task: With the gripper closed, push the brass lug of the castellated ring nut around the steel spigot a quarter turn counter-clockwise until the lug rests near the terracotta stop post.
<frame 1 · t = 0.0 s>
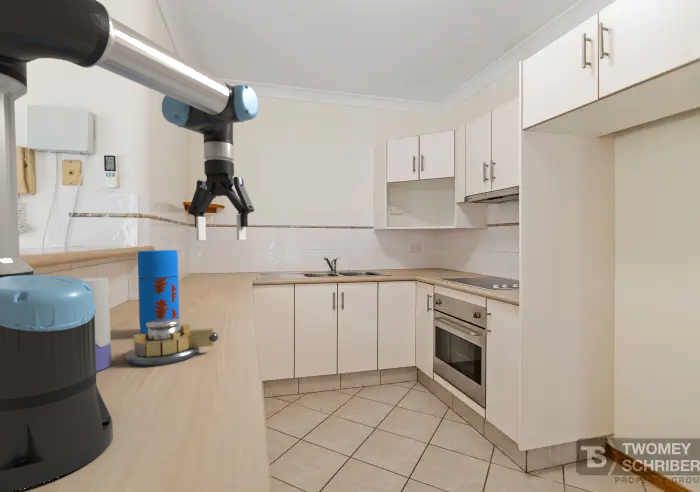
hand: (220, 240, 97), 28 cm above the countertop, fingers open, 13 cm apart
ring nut: (177, 337, 89), point 4 cm above the countertop, hinge at 0.0°
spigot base: (164, 355, 88), on the countertop
container: (84, 369, 80), on the countertop
thermos: (160, 332, 111), on the countertop
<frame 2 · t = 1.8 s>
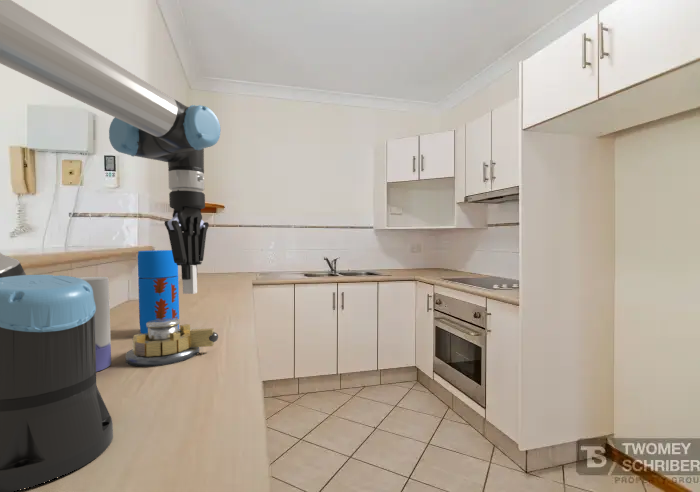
hand: (190, 293, 84), 16 cm above the countertop, fingers closed
nothing on the countertop moved.
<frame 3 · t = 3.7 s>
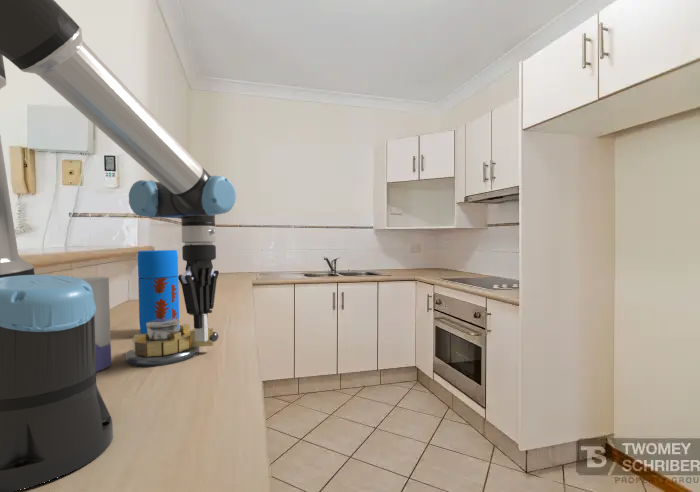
hand: (201, 340, 88), 4 cm above the countertop, fingers closed
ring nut: (177, 337, 89), point 4 cm above the countertop, hinge at 1.7°, touching gripper
everything else where it was.
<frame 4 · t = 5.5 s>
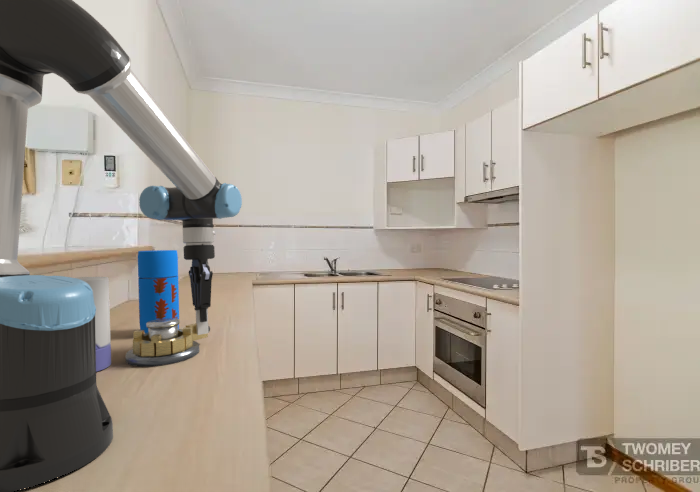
hand: (202, 333, 95), 3 cm above the countertop, fingers closed
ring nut: (176, 335, 91), point 4 cm above the countertop, hinge at 48.6°, touching gripper
everything else where it was.
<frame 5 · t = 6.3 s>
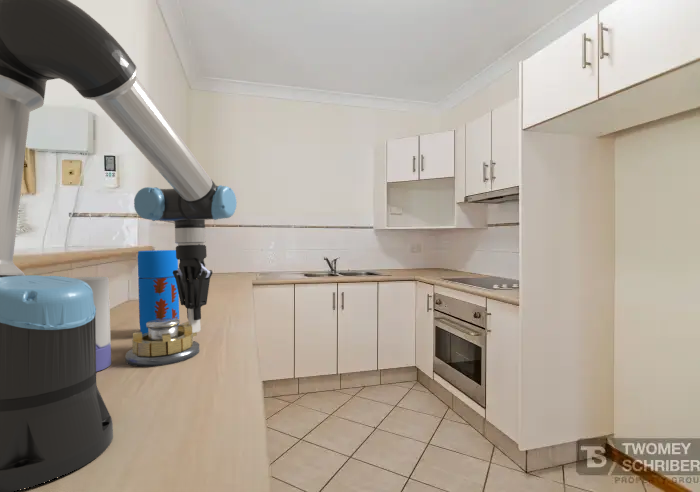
hand: (194, 331, 97), 3 cm above the countertop, fingers closed
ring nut: (172, 335, 91), point 4 cm above the countertop, hinge at 69.8°, touching gripper
everything else where it was.
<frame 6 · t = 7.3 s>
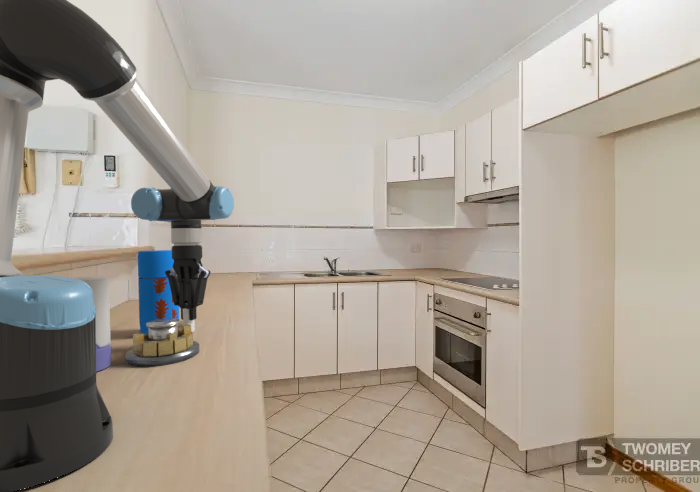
hand: (189, 331, 97), 3 cm above the countertop, fingers closed
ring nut: (169, 335, 91), point 4 cm above the countertop, hinge at 82.8°
everything else where it was.
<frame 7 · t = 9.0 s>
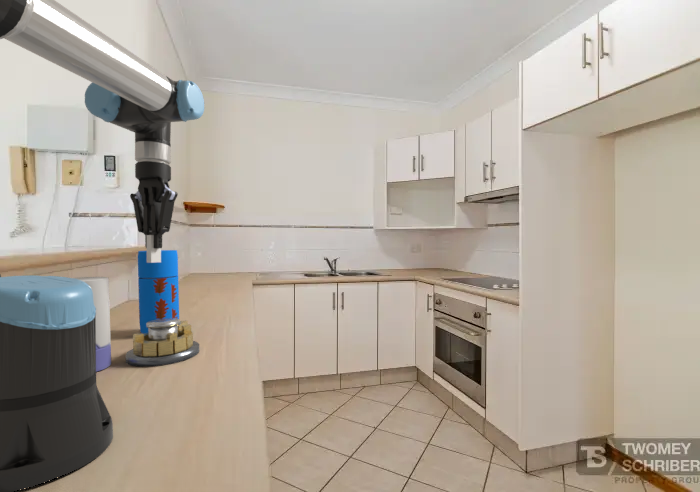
hand: (153, 262, 86), 23 cm above the countertop, fingers closed
nothing on the countertop moved.
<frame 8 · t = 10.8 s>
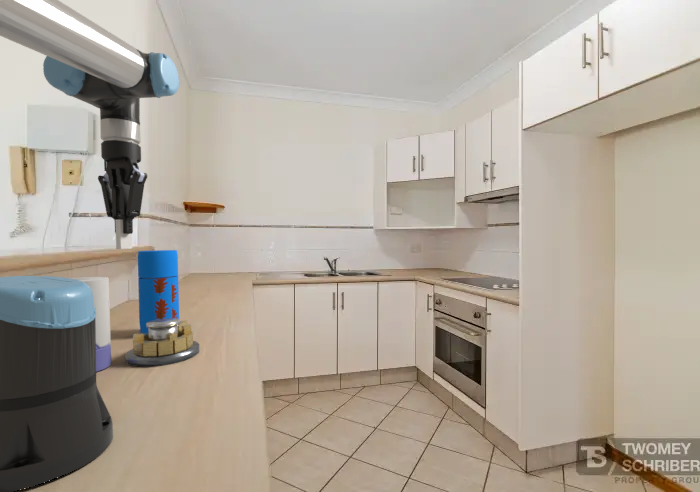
hand: (124, 248, 81), 26 cm above the countertop, fingers closed
nothing on the countertop moved.
at the end: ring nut at +83° (first picture: +0°) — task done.
